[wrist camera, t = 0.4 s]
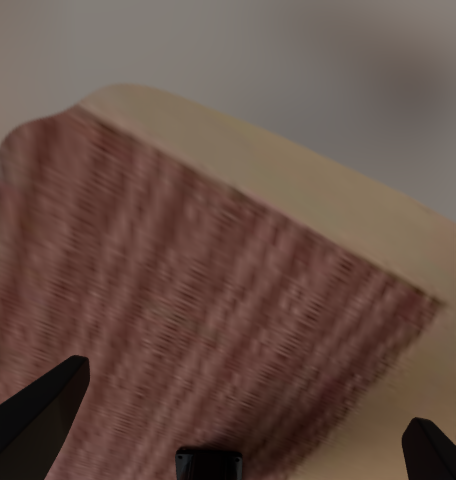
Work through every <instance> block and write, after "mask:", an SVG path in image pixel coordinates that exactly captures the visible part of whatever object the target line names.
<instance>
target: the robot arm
mask: <svg viewBox="0 0 456 480" xmlns="http://www.w3.org/2000/svg"><path fill="white" fill-rule="evenodd" d="M89 382H90V368H89V359H88V358H87V357H84V356H78V355H73V356H71V357H69V358H68V359H66V360H65V361H63V362H62V363H60V364H59V365H57V366H56V367H55V368H53V369H52V370H50V371H49V372H47V373H46V374H44V375H43V376H41V377H40V378H38V379H37V380H35V381H34V382H32V383H31V384H30V385H28V386H27V387H25V388H24V389H22V390H21V391H19V392H18V393H16V394H15V395H13V396H12V397H10V398H9V399H8V400H6V401H5V402H3V403H2V404H0V480H44V479H45V477H46V475H47V473H48V472H49V470H50V468H51V466H52V464H53V462H54V461H55V459H56V457H57V455H58V453H59V451H60V449H61V448H62V446H63V444H64V442H65V439H66V437H67V435H68V433H69V430H70V428H71V426H72V423H73V421H74V419H75V416H76V414H77V412H78V409H79V407H80V404H81V402H82V400H83V397H84V395H85V393H86V390H87V388H88V385H89ZM402 448H403V453H404V458H405V463H406V468H407V473H408V479H409V480H456V445H455V444H454V443H453V442H452V441H451V440H450V439H449V438H448V437H447V436H446V435H445V434H444V433H443V432H442V431H441V430H440V429H439V428H438V427H437V426H436V425H435V424H434V423H433V422H432V421H431V420H428V419H423V418H418V417H415V418H413V419H412V420H411V422H410V424H409V425H408V427H407V429H406V430H405V432H404V434H403V436H402ZM175 461H176V474H177V480H241V478H242V454H241V453H235V452H215V451H195V450H178V451H176V455H175Z"/></svg>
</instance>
